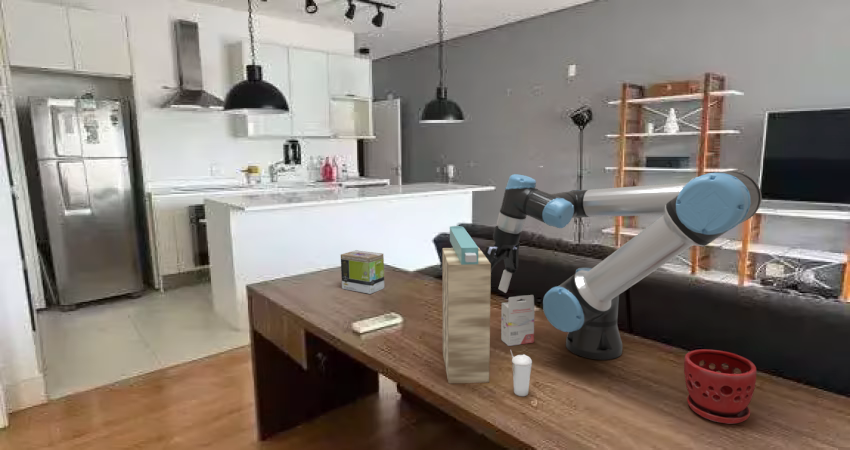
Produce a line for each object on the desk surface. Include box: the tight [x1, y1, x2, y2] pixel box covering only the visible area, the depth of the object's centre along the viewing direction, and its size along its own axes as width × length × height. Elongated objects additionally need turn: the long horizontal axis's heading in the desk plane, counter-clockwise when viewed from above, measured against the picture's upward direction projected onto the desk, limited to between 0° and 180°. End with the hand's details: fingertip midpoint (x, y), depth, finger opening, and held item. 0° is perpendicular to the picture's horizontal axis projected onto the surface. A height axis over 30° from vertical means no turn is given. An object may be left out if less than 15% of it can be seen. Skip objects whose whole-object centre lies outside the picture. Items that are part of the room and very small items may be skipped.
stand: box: [441, 247, 492, 384], centre depth 122 cm, size 18×10×30 cm, turn 3°
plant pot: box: [683, 348, 757, 425], centre depth 102 cm, size 13×13×12 cm
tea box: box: [340, 249, 385, 295], centre depth 192 cm, size 15×10×15 cm, turn 58°
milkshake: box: [509, 349, 533, 397], centre depth 111 cm, size 4×5×10 cm
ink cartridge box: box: [500, 294, 535, 347], centre depth 139 cm, size 9×5×15 cm, turn 105°
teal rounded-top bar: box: [449, 225, 479, 265], centre depth 124 cm, size 33×4×4 cm, turn 3°
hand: (489, 295), depth 141 cm, fingers open, 13 cm apart
